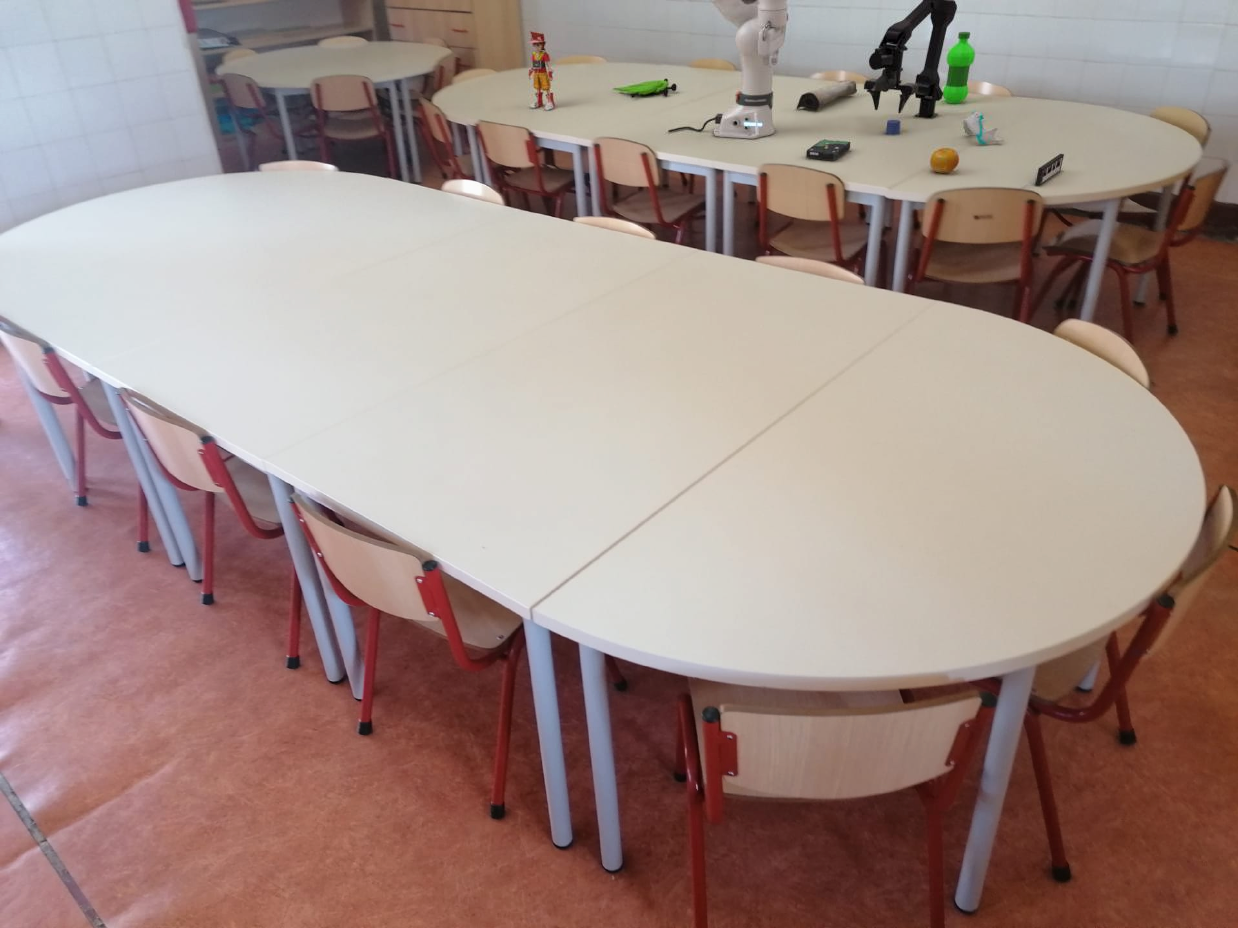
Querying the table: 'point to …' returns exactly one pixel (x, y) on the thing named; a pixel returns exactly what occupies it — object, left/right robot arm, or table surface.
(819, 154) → the disk drive
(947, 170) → the fruit
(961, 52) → the plastic bottle
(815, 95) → the rolled mat
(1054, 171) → the midi keyboard
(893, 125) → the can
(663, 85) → the toy
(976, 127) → the anatomical model
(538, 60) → the toy
